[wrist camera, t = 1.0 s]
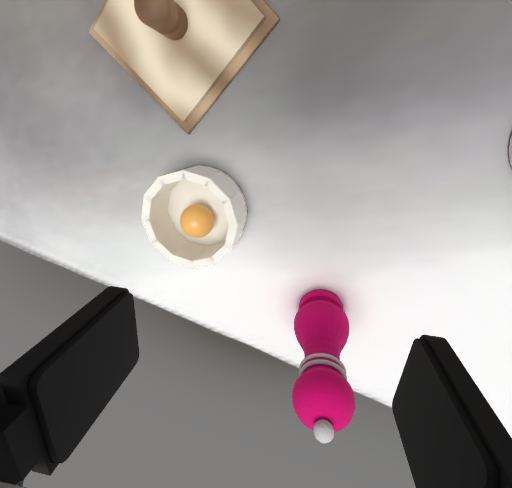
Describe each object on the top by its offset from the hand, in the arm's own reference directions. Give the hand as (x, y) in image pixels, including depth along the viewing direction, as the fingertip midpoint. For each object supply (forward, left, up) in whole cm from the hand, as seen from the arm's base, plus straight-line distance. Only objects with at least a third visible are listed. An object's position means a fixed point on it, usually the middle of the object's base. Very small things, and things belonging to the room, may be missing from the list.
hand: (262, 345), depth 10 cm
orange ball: (+13, -6, -29) cm, 32 cm away
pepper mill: (+10, +15, -30) cm, 35 cm away
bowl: (+12, -7, -30) cm, 33 cm away
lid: (-2, -22, -29) cm, 37 cm away
